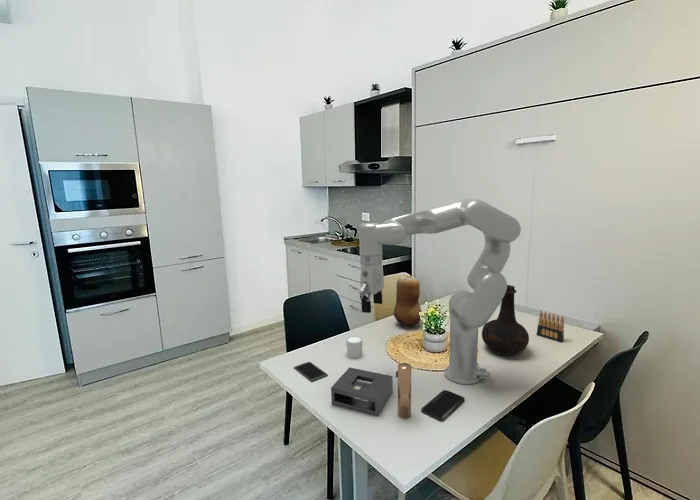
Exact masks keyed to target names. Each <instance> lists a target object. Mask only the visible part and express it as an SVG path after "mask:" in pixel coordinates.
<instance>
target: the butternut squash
mask: <svg viewBox="0 0 700 500" xmlns="http://www.w3.org/2000/svg"><path fill="white" fill-rule="evenodd" d="M420 287H421V286H420V280H419V279H418V278H416V277H414V276H412V275H402V276H399V277H398V278H397V281H396V291H395V292H396V293H395V294H396V295H395V296H396V297H395V306H394V310H393V316H394V318H395V320H396V321H397V322H398V323H399V324H400V325H402V326H403V327H405V328H408V329H410V328H413V327H416V326H417V325H418V324H419V322H420V321H421V319H420V315H419V312H422V308H421V306H420V301H419V299H420V294H421V292H420V290H421V289H420Z"/></svg>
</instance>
